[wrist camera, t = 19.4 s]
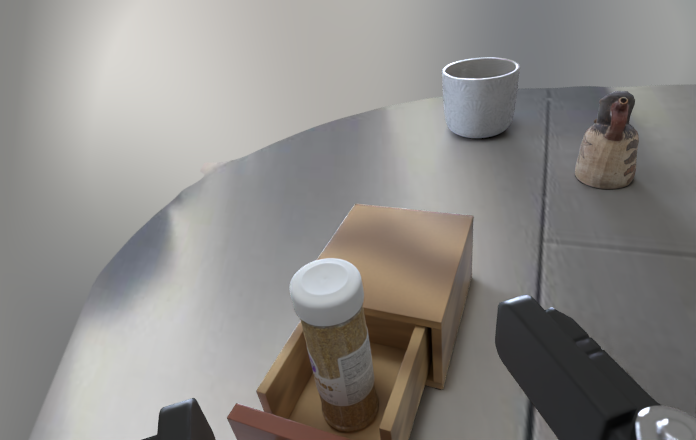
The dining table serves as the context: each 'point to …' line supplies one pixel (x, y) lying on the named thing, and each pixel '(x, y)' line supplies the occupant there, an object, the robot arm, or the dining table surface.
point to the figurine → (609, 145)
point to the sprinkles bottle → (337, 341)
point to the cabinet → (411, 270)
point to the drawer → (304, 400)
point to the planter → (480, 96)
